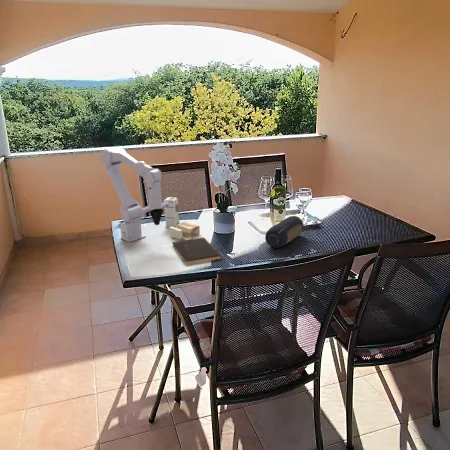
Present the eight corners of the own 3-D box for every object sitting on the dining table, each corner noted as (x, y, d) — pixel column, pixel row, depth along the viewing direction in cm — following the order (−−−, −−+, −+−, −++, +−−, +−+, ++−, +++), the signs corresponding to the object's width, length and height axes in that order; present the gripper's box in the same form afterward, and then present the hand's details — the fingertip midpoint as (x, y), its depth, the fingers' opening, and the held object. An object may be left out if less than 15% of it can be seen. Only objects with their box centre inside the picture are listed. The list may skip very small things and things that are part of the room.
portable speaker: (282, 252, 189) (282, 231, 186) (262, 247, 195) (262, 227, 191) (306, 235, 209) (307, 215, 205) (287, 231, 214) (288, 212, 211)
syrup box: (176, 227, 222) (174, 200, 218) (165, 226, 224) (163, 199, 219) (179, 223, 228) (178, 197, 223) (168, 223, 229) (167, 196, 224)
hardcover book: (185, 266, 178) (185, 261, 178) (172, 246, 199) (172, 242, 198) (221, 260, 184) (221, 255, 183) (205, 241, 204) (204, 237, 203)
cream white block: (183, 241, 203) (183, 232, 201) (169, 235, 210) (169, 227, 208) (189, 239, 205) (189, 230, 204) (175, 233, 212) (174, 225, 211)
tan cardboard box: (177, 244, 200) (177, 235, 199) (162, 238, 208) (161, 229, 206) (201, 235, 211) (201, 226, 209) (186, 229, 218) (185, 221, 217)
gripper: (147, 201, 186) (149, 230, 191) (172, 194, 196) (174, 222, 201) (137, 198, 191) (140, 226, 196) (163, 191, 201) (165, 219, 205)
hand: (156, 224), depth 198 cm, fingers closed
